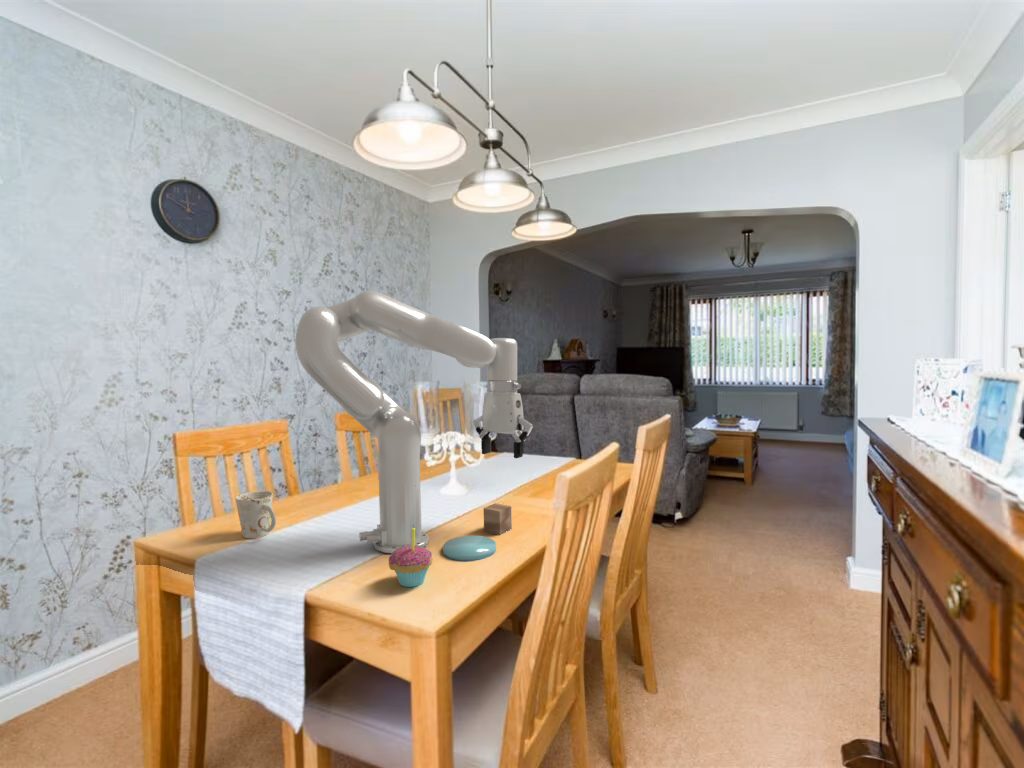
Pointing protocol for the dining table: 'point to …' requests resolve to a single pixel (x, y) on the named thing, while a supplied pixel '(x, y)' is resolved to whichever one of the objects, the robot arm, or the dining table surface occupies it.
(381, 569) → the dining table surface
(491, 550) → the teal dish
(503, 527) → the walnut block
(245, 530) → the mug
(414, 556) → the cupcake
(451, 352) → the robot arm
